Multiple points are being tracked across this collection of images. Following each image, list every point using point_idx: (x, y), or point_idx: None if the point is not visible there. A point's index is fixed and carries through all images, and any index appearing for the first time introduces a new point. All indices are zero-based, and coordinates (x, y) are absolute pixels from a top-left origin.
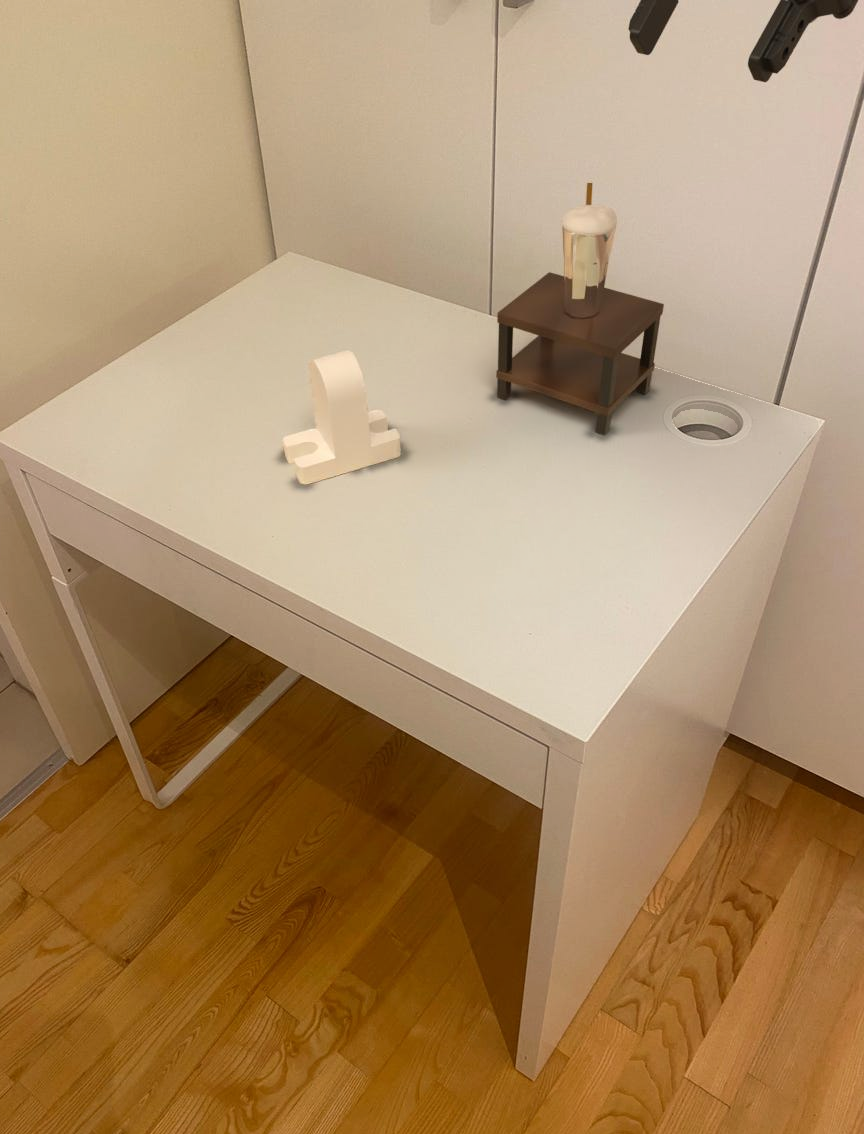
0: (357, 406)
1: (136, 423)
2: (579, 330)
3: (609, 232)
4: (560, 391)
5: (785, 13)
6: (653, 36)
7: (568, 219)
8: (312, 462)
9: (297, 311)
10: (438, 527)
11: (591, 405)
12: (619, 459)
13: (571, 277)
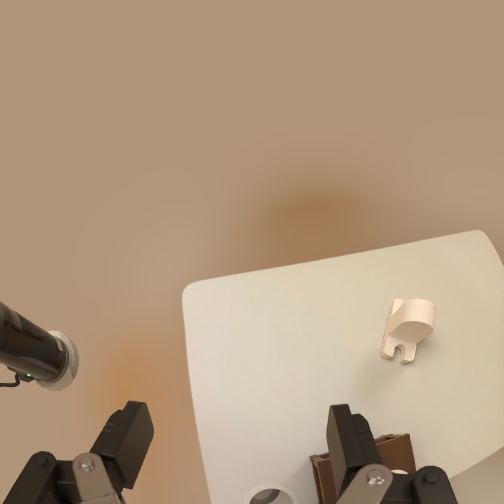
0: (398, 320)
1: (472, 271)
2: None
3: None
4: None
5: (105, 441)
6: (330, 442)
7: (402, 473)
8: (395, 305)
9: None
10: (318, 331)
11: (322, 454)
12: (287, 445)
13: None
